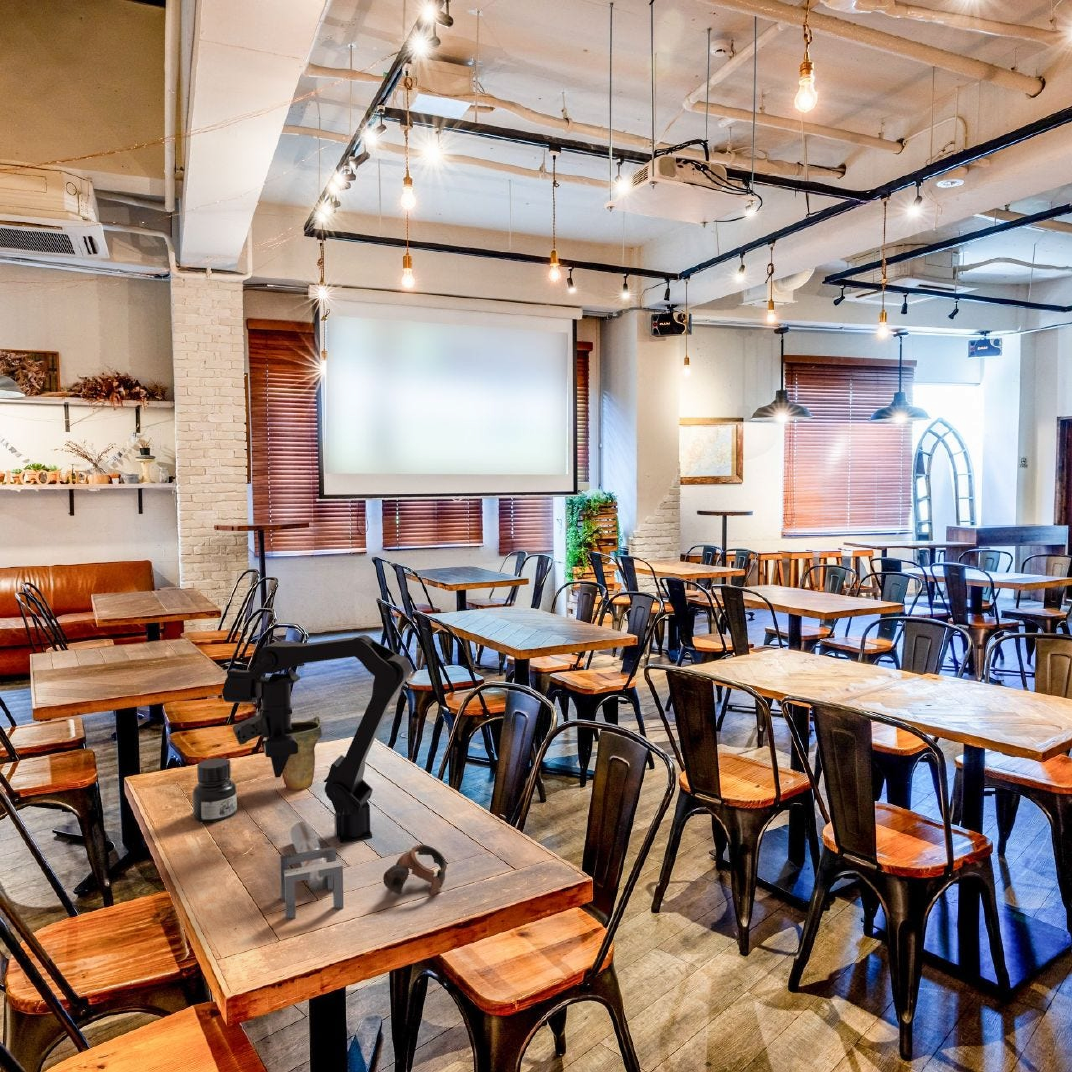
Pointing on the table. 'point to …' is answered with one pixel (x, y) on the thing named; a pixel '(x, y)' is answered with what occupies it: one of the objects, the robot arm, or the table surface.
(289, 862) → the arch block
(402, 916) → the table surface
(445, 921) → the table surface
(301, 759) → the pot
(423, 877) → the brown headphones
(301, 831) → the air tube
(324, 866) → the arch block
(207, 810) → the ink bottle
